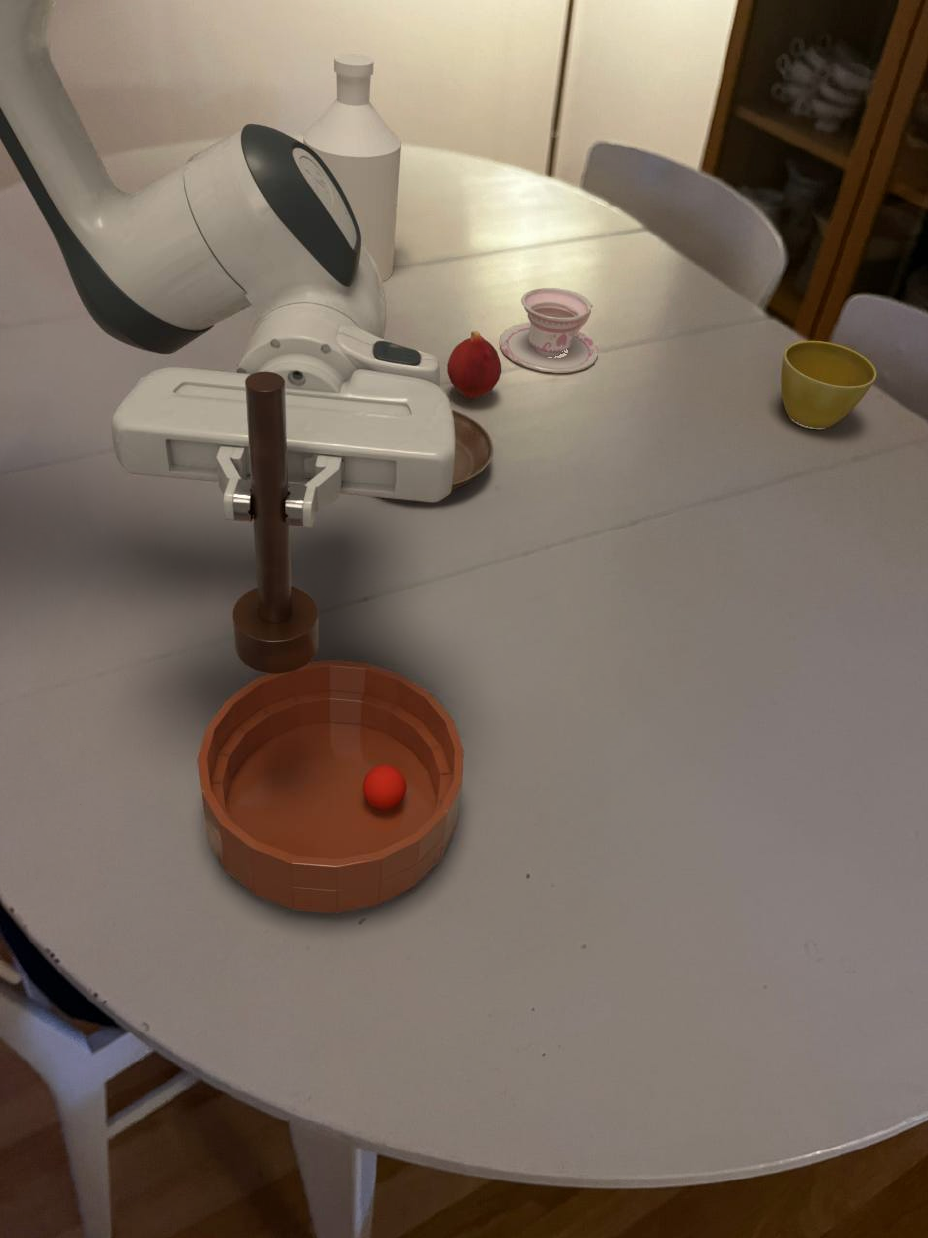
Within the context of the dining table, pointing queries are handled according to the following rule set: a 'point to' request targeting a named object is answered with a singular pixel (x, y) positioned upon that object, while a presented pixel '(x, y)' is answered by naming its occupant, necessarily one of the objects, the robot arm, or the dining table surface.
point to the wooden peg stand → (272, 545)
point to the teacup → (551, 332)
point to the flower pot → (823, 382)
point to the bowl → (329, 785)
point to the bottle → (361, 157)
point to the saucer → (469, 449)
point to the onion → (474, 366)
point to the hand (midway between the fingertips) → (268, 514)
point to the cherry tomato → (384, 787)
